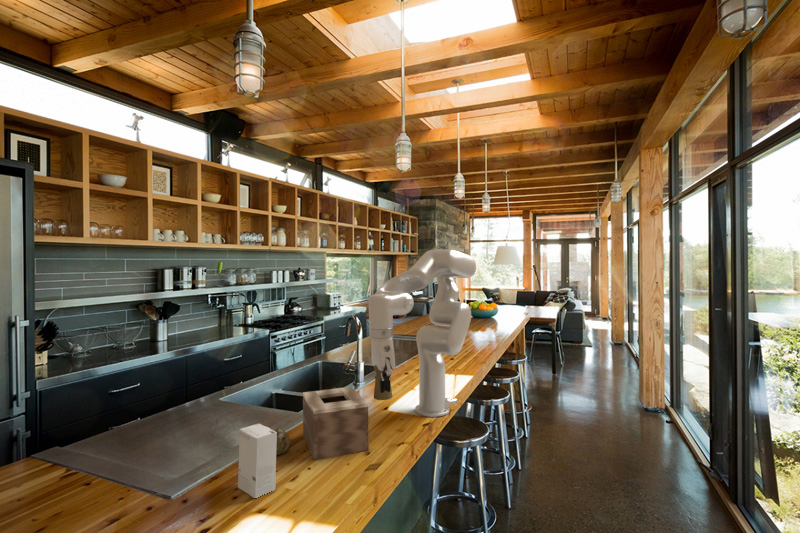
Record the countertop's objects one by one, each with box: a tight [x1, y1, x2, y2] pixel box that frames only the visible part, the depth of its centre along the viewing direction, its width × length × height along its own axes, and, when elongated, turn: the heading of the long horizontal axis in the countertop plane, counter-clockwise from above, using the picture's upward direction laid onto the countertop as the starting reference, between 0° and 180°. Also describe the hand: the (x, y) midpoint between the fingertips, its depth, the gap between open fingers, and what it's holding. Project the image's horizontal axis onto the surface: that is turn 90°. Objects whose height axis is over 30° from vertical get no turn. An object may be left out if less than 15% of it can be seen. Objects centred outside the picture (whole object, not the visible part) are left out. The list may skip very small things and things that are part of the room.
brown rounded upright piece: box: [373, 365, 393, 401], centre depth 139 cm, size 6×6×11 cm
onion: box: [272, 426, 291, 456], centre depth 128 cm, size 8×8×8 cm
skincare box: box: [237, 423, 277, 499], centre depth 108 cm, size 8×6×15 cm
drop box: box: [302, 386, 370, 461], centre depth 134 cm, size 16×18×14 cm
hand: (382, 389), depth 140 cm, fingers closed on brown rounded upright piece, 4 cm apart
